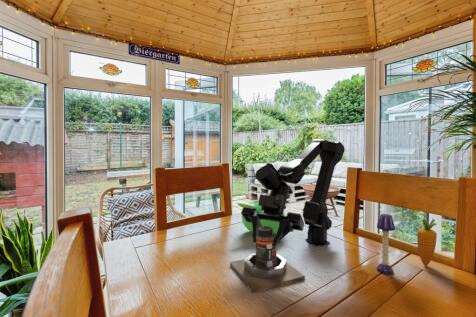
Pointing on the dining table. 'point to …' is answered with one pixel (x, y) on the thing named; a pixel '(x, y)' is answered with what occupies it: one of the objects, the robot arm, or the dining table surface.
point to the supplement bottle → (265, 248)
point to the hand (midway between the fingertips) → (263, 244)
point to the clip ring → (265, 272)
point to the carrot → (426, 242)
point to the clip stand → (263, 284)
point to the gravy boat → (263, 222)
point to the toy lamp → (385, 241)
